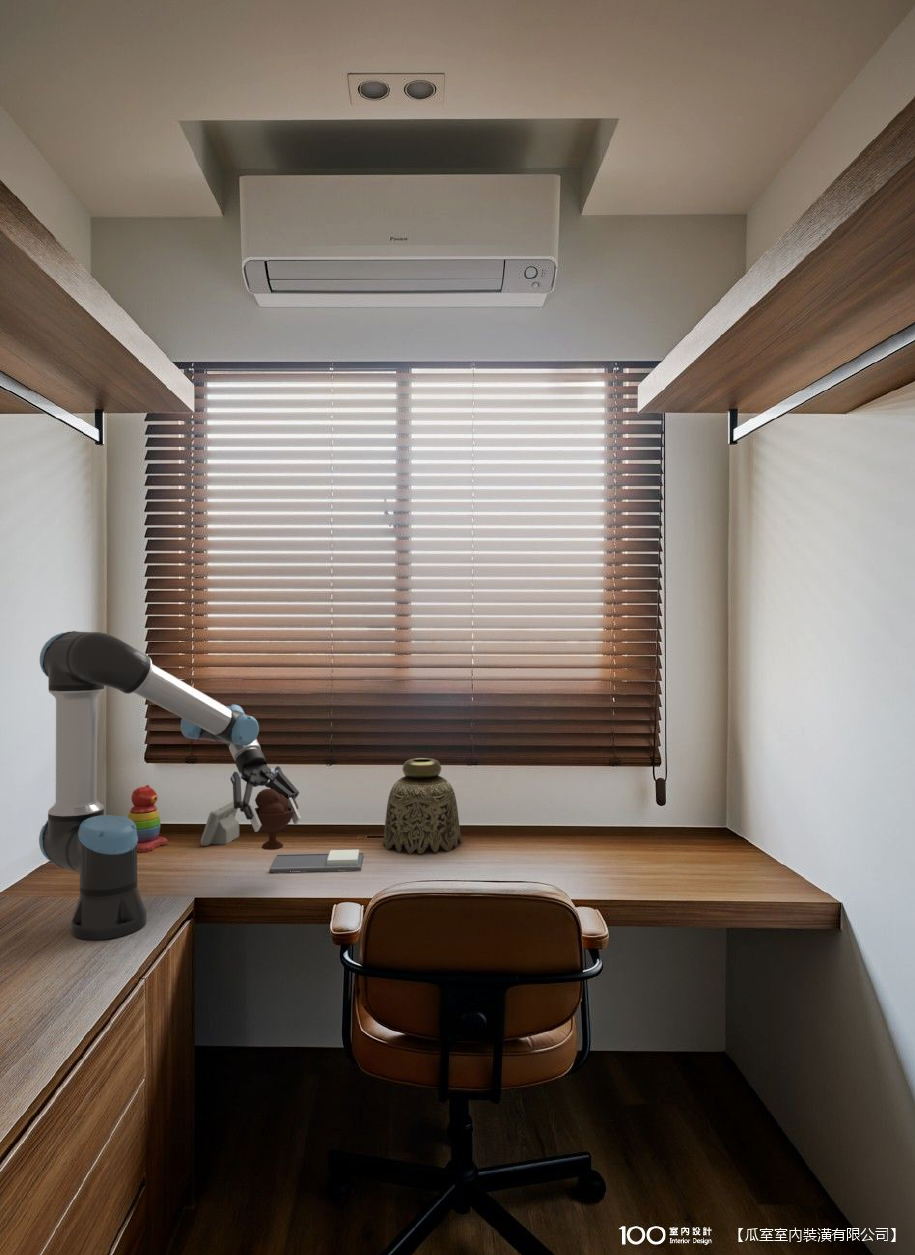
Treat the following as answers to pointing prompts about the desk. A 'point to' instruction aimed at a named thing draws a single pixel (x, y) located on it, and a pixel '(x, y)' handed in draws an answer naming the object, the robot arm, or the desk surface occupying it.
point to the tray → (308, 863)
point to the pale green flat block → (343, 858)
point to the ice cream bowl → (273, 815)
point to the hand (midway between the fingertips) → (278, 825)
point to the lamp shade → (422, 809)
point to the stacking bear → (146, 819)
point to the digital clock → (221, 826)
